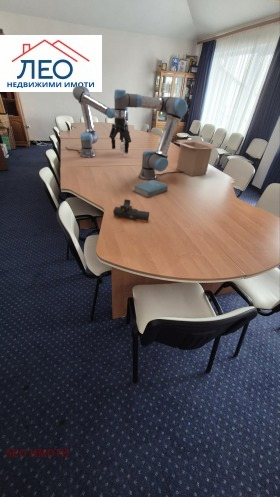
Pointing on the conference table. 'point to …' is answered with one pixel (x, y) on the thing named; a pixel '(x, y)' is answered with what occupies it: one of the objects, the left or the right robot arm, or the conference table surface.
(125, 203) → the laser sight
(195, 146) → the box
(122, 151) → the ink cartridge box
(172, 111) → the right robot arm
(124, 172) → the conference table surface
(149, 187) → the book
